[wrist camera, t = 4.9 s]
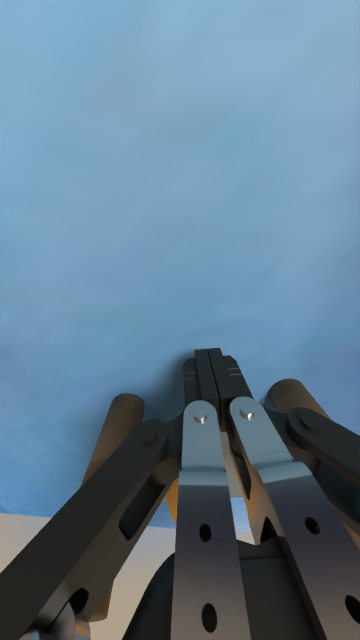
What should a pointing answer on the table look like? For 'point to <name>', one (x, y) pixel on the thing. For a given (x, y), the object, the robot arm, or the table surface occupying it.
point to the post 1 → (115, 430)
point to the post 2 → (296, 395)
